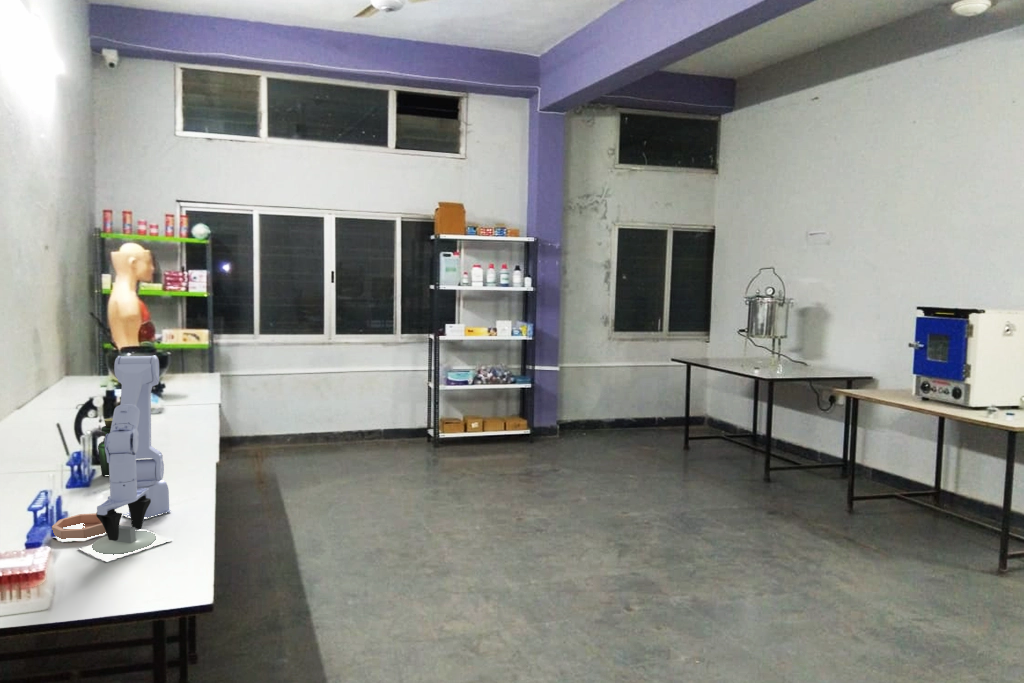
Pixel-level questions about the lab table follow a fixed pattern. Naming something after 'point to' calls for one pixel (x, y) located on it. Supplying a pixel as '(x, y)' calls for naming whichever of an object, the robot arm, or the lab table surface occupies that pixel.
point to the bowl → (91, 529)
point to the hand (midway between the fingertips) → (125, 534)
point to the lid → (124, 541)
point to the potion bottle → (101, 448)
